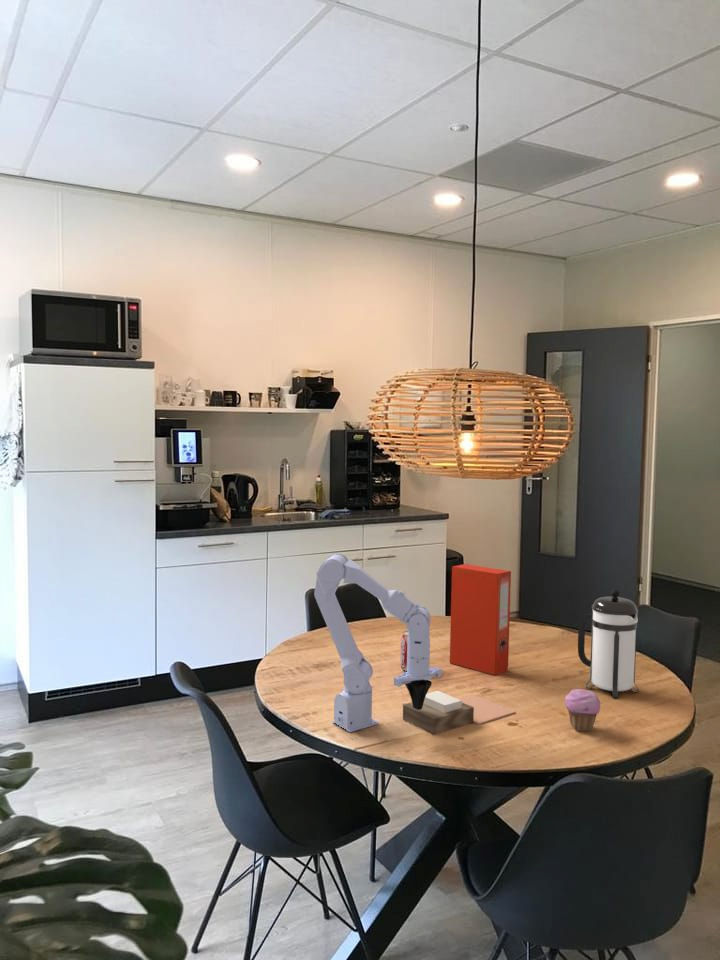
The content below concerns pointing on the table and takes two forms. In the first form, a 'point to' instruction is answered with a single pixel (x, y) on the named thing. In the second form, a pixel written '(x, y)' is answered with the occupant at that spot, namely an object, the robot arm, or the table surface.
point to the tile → (442, 701)
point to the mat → (485, 709)
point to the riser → (437, 717)
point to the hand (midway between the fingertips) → (417, 708)
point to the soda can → (404, 650)
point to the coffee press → (611, 643)
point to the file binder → (480, 618)
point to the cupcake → (582, 708)
